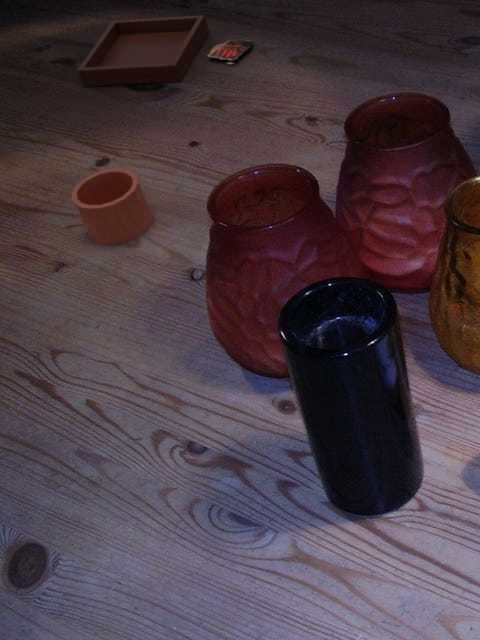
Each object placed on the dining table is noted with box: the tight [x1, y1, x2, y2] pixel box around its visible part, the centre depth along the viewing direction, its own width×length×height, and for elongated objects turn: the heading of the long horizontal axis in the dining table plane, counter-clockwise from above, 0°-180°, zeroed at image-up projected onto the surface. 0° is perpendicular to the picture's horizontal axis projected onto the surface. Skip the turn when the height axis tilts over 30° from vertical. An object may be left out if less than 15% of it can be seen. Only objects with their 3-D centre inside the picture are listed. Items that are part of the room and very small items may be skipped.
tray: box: [76, 14, 210, 88], centre depth 112 cm, size 11×11×2 cm
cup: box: [71, 167, 155, 246], centre depth 89 cm, size 6×6×4 cm
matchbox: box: [207, 38, 254, 66], centre depth 111 cm, size 5×5×1 cm
